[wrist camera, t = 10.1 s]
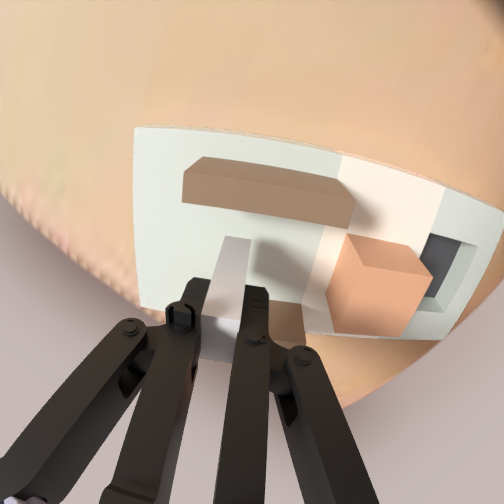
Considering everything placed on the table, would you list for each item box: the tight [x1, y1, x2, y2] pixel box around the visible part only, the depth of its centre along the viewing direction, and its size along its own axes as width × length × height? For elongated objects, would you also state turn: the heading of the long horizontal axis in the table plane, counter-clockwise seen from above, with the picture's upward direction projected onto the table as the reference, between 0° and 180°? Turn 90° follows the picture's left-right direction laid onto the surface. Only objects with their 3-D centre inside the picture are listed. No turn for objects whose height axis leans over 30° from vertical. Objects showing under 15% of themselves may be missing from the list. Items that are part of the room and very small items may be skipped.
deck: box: [133, 124, 504, 349], centre depth 18 cm, size 14×29×6 cm, turn 81°
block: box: [325, 233, 433, 337], centre depth 17 cm, size 5×5×4 cm
